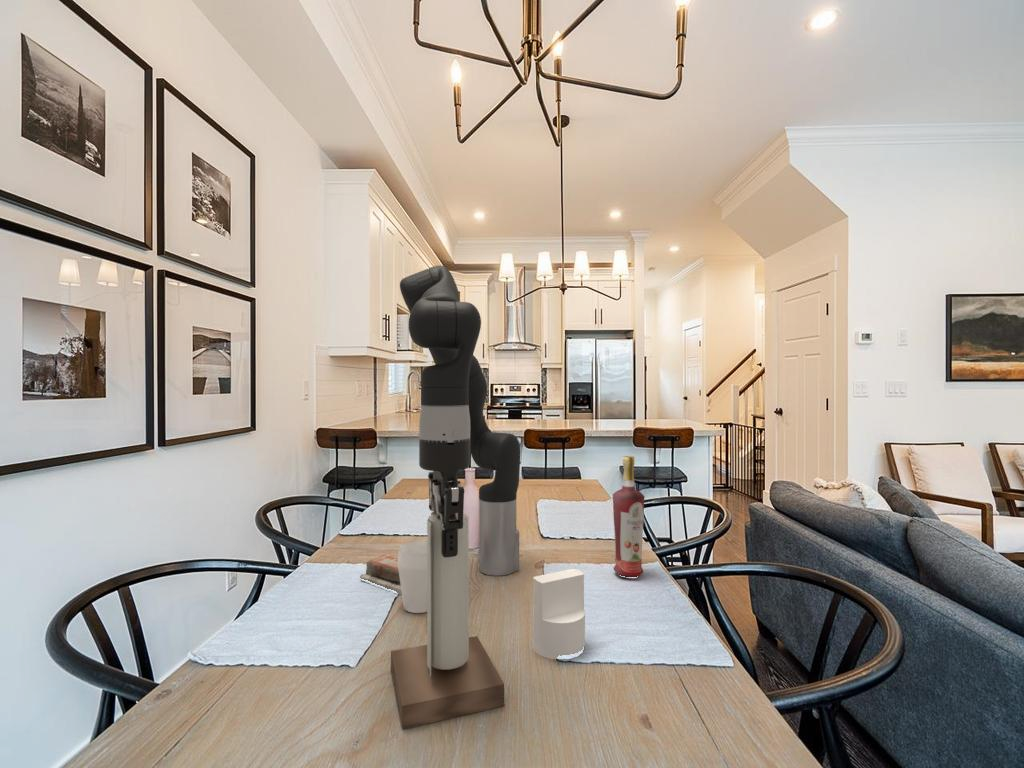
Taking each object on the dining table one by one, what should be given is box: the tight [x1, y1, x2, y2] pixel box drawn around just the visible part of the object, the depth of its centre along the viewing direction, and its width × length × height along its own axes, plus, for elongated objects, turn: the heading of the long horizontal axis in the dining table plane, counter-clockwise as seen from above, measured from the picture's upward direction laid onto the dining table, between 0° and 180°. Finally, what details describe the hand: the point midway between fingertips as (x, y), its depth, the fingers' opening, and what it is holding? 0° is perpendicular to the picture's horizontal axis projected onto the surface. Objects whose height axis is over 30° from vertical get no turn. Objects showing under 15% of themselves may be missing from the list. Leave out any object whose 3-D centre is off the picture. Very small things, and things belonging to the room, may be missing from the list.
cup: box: [397, 539, 427, 614], centre depth 99 cm, size 9×9×12 cm
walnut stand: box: [390, 635, 505, 730], centre depth 72 cm, size 14×14×3 cm
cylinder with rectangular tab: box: [532, 568, 586, 660], centre depth 84 cm, size 9×9×12 cm
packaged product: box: [359, 554, 402, 597], centre depth 111 cm, size 18×5×10 cm
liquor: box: [612, 455, 645, 577], centre depth 116 cm, size 7×7×28 cm
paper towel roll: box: [426, 513, 470, 677], centre depth 72 cm, size 7×6×21 cm
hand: (444, 548), depth 73 cm, fingers closed on paper towel roll, 6 cm apart
